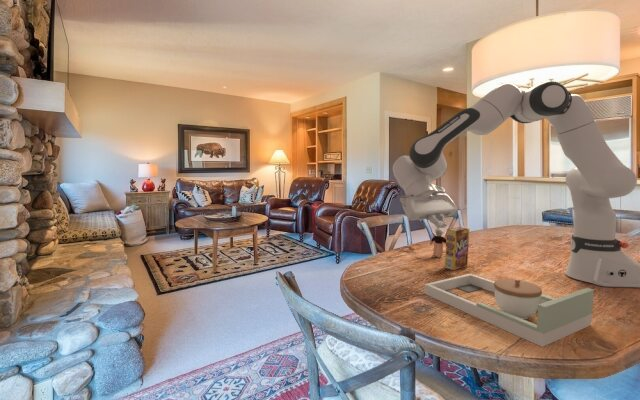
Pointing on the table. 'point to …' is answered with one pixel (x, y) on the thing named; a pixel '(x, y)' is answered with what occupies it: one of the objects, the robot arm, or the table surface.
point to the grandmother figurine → (438, 243)
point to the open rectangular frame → (554, 311)
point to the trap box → (476, 283)
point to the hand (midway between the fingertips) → (442, 227)
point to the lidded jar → (517, 297)
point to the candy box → (457, 248)
